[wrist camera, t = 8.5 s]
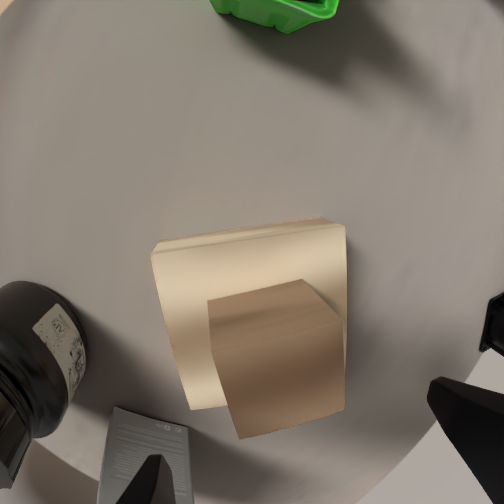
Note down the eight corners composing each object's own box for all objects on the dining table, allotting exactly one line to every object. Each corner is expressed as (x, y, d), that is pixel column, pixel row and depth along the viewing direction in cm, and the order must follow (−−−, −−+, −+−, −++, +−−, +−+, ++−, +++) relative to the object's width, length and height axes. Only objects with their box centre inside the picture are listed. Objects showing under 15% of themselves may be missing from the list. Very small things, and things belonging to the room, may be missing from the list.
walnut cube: (311, 356, 17) (344, 409, 12) (228, 377, 17) (239, 439, 12) (301, 278, 16) (342, 319, 11) (207, 300, 15) (211, 352, 11)
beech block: (323, 349, 22) (344, 379, 18) (191, 374, 21) (190, 410, 17) (318, 216, 20) (345, 226, 16) (160, 239, 18) (150, 254, 14)
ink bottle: (82, 402, 20) (40, 521, 8) (-5, 357, 18) (-75, 445, 6) (102, 303, 18) (21, 433, 7) (0, 253, 16) (-117, 320, 5)
